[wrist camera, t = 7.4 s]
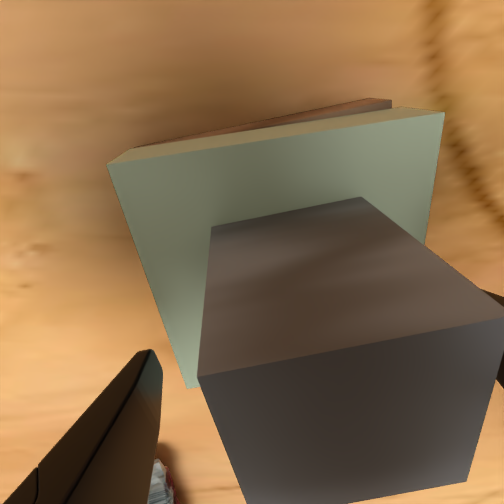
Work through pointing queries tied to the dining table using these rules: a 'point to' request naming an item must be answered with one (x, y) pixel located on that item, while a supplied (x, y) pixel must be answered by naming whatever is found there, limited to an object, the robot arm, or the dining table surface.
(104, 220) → the dining table surface
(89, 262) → the dining table surface
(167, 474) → the packaged food
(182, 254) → the top block
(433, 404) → the grey block
